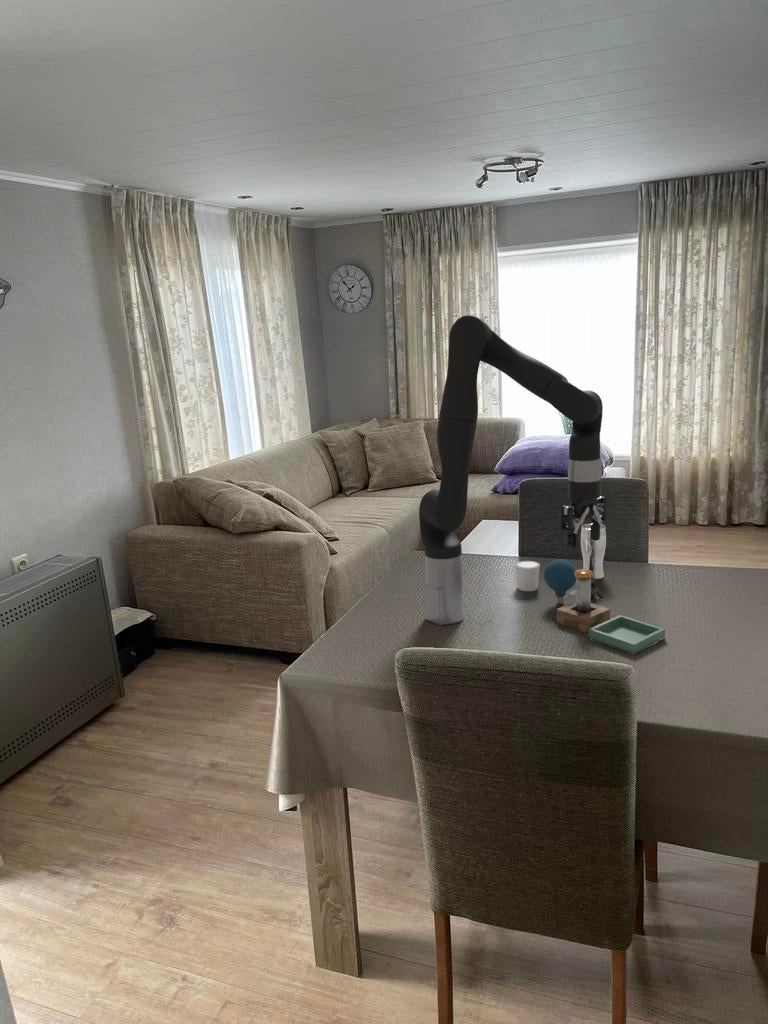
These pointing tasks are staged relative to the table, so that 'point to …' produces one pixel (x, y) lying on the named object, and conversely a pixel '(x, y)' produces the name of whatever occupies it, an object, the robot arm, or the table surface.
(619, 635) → the tray
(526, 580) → the white cylinder
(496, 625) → the table surface
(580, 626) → the socket block
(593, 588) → the eiffel tower figurine
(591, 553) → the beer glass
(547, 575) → the light bulb
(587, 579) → the pin
